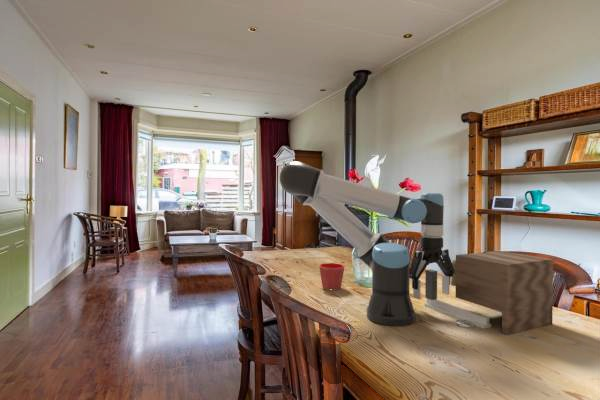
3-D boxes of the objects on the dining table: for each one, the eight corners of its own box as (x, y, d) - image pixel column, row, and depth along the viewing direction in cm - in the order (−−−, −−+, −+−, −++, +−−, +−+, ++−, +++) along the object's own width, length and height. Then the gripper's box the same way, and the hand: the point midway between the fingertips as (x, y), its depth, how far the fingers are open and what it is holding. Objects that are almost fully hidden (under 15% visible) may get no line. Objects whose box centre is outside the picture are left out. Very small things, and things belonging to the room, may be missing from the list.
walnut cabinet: (506, 335, 101) (507, 264, 101) (455, 315, 117) (455, 255, 117) (552, 324, 110) (553, 259, 109) (498, 307, 126) (499, 250, 126)
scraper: (483, 329, 106) (484, 285, 106) (424, 306, 128) (424, 270, 128) (491, 327, 107) (491, 284, 107) (431, 304, 129) (431, 269, 129)
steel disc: (470, 330, 106) (470, 326, 106) (453, 325, 109) (453, 322, 109) (475, 325, 109) (475, 322, 109) (458, 321, 113) (458, 318, 113)
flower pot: (348, 286, 154) (348, 264, 154) (337, 292, 144) (337, 269, 144) (326, 283, 159) (327, 262, 159) (314, 289, 150) (314, 266, 150)
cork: (467, 286, 154) (467, 261, 154) (452, 286, 156) (452, 260, 155) (463, 283, 160) (463, 259, 160) (449, 282, 161) (449, 258, 161)
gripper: (449, 233, 135) (448, 289, 136) (397, 237, 125) (396, 297, 125) (465, 236, 128) (465, 294, 129) (412, 239, 118) (411, 303, 118)
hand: (431, 296), depth 127 cm, fingers open, 13 cm apart
